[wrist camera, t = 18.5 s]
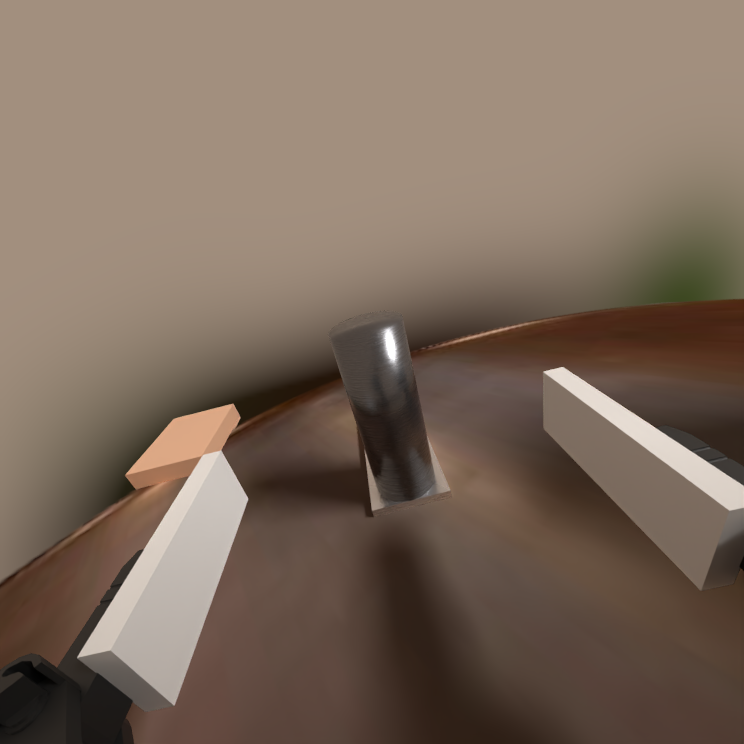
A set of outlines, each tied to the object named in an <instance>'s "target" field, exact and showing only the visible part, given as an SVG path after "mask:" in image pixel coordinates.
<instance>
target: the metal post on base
mask: <svg viewBox="0 0 744 744" xmlns="http://www.w3.org/2000/svg"><path fill="white" fill-rule="evenodd" d="M328 336H329V339H330V342H331V345H332V348H333V351H334V355H335V358H336V360H337V364H338V367H339V370H340V373H341V377H342V380H343V383H344V386H345V389H346V392H347V395H348V399H349V402H350V405H351V408H352V411H353V414H354V417H355V421H356V424H357V427H358V430H359V433H360V436H361V439H362V443H363V446H364V449H365V457H366V466H367V474H368V482H369V491H370V499H371V507H372V512H373V515H374V517H377V516H381V515H385V514H389V513H392V512H396V511H400V510H404V509H408V508H412V507H416V506H420V505H424V504H428V503H431V502H435V501H439V500H443V499H447V498H451V497H452V496H451V490H450V488H449V486H448V483H447V481H446V479H445V476H444V474H443V472H442V469H441V467H440V465H439V462H438V460H437V458H436V455H435V453H434V451H433V448H432V446H431V444H430V441H429V439H428V437H427V434H426V429H425V424H424V419H423V414H422V409H421V404H420V400H419V395H418V390H417V385H416V380H415V375H414V370H413V366H412V361H411V356H410V351H409V346H408V341H407V336H406V332H405V327H404V322H403V317H402V314H401V313H398V312H395V311H379V312H372V313H367V314H363V315H359V316H356V317H353V318H350V319H348V320H345V321H343V322H341V323H339V324H337V325H336V326H334V327H333V328H332V329H331V330H330V331H329V333H328Z"/></svg>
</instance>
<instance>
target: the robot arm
mask: <svg viewBox="0 0 744 744" xmlns="http://www.w3.org/2000/svg"><path fill="white" fill-rule="evenodd" d="M543 429H544V430H545V431H546V432H547V433H548V434H549V435H550V436H551V437H552V438H553V439H554V440H555V441H556V442H557V443H558V444H559V445H560V446H561V447H562V448H563V449H564V450H565V451H566V452H567V453H568V454H569V455H570V456H571V457H572V459H573V460H574V461H575V462H576V463H577V464H578V465H579V466H580V467H581V468H582V469H583V470H584V471H585V472H586V473H587V474H588V475H589V476H590V477H591V478H592V479H593V480H594V481H595V482H596V483H597V484H598V485H599V486H600V487H601V488H602V489H603V491H604V492H605V493H606V494H607V495H608V496H609V497H610V498H611V499H612V500H613V501H614V502H615V503H616V504H617V505H618V506H619V507H620V508H621V509H622V510H623V511H624V512H625V513H626V514H627V515H628V516H629V517H630V518H631V519H632V520H633V521H634V523H635V524H636V525H637V526H638V527H639V528H640V529H641V530H642V531H643V532H644V533H645V534H646V535H647V536H648V537H649V538H650V539H651V540H652V541H653V542H654V543H655V544H656V545H657V546H658V547H659V548H660V549H661V550H662V551H663V552H664V553H665V555H666V556H667V557H668V558H669V559H670V560H671V561H672V562H673V563H674V564H675V565H676V566H677V567H678V568H679V569H680V570H681V571H682V572H683V573H684V574H685V575H686V576H687V577H688V578H689V579H690V580H691V581H692V582H693V583H694V584H695V585H696V587H697V588H698V589H699V590H700V591H704V590H709V589H713V588H718V587H722V586H727V585H731V584H734V582H735V580H736V577H737V575H738V572H739V570H740V568H741V569H743V570H744V466H742V465H741V464H739V463H737V462H736V461H734V460H732V459H728V458H727V456H726V455H724V454H722V453H721V452H719V451H718V450H716V449H714V448H712V449H711V448H710V446H709V445H708V444H706V443H704V442H703V441H701V440H699V439H698V438H696V437H695V436H693V435H691V434H689V433H687V432H684V431H681V430H678V429H676V428H673V427H670V426H667V425H664V426H660V427H656V428H655V427H653V426H652V425H650V424H649V423H647V422H646V421H644V420H643V419H641V418H640V417H638V416H637V415H635V414H633V413H632V412H630V411H629V410H627V409H626V408H624V407H623V406H621V405H620V404H618V403H617V402H615V401H614V400H612V399H611V398H609V397H608V396H606V395H605V394H603V393H601V392H600V391H598V390H597V389H595V388H594V387H592V386H591V385H589V384H588V383H586V382H585V381H583V380H582V379H580V378H579V377H577V376H576V375H574V374H573V373H571V372H569V371H568V370H566V369H565V368H563V367H561V368H557V369H553V370H548V371H544V372H543ZM247 501H248V497H247V496H246V494H245V492H244V490H243V488H242V487H241V485H240V483H239V481H238V480H237V478H236V476H235V474H234V473H233V471H232V469H231V467H230V465H229V464H228V462H227V460H226V458H225V457H224V455H223V453H222V451H217V452H213V453H209V454H205V455H203V456H202V457H201V459H200V461H199V462H198V464H197V465H196V467H195V469H194V470H193V472H192V473H191V475H190V477H189V478H188V480H187V481H186V483H185V485H184V486H183V488H182V490H181V491H180V493H179V494H178V496H177V498H176V499H175V501H174V502H173V504H172V506H171V507H170V509H169V510H168V512H167V514H166V515H165V517H164V518H163V520H162V522H161V523H160V525H159V526H158V528H157V530H156V531H155V533H154V535H153V536H152V538H151V539H150V541H149V543H148V544H147V546H146V547H145V549H142V550H139V551H138V552H137V553H136V554H135V555H134V556H133V557H132V558H131V559H130V560H129V561H128V562H127V563H126V564H125V565H124V566H123V568H122V569H121V571H120V572H119V574H118V575H117V577H116V578H115V580H114V581H113V583H112V584H111V586H110V587H111V588H110V590H107V592H106V594H105V595H104V597H103V598H102V600H101V601H100V605H99V606H97V607H96V609H95V610H94V612H93V613H92V615H91V617H90V618H89V620H88V621H87V623H86V624H85V626H84V627H83V629H82V630H81V632H80V633H79V635H78V636H77V638H76V639H75V641H74V643H73V644H72V646H71V647H70V649H69V650H68V652H67V653H66V655H65V656H64V658H63V659H62V661H61V662H60V664H59V666H58V667H57V668H56V667H55V666H54V665H52V664H51V663H49V662H48V661H47V660H45V659H44V658H43V657H41V656H40V655H37V654H32V653H31V654H28V655H25V656H22V657H19V658H18V659H16V660H14V661H13V662H11V663H9V664H8V665H6V666H5V667H3V668H2V669H1V670H0V744H134V742H133V735H132V729H131V726H130V724H129V722H128V720H127V719H126V718H125V717H126V715H127V713H128V711H129V708H130V706H131V704H132V702H133V703H135V704H136V705H137V706H138V707H140V708H141V709H142V710H143V711H145V712H148V711H153V710H158V709H162V708H167V707H171V706H175V703H176V700H177V697H178V695H179V692H180V689H181V686H182V683H183V681H184V678H185V675H186V672H187V669H188V666H189V664H190V661H191V658H192V655H193V652H194V650H195V647H196V644H197V641H198V638H199V636H200V633H201V630H202V627H203V624H204V622H205V619H206V616H207V613H208V610H209V608H210V605H211V602H212V599H213V596H214V594H215V591H216V588H217V585H218V582H219V580H220V577H221V574H222V571H223V568H224V566H225V563H226V560H227V557H228V554H229V552H230V549H231V546H232V543H233V540H234V538H235V535H236V532H237V529H238V526H239V524H240V521H241V518H242V515H243V512H244V510H245V507H246V504H247Z"/></svg>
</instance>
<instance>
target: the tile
mask: <svg viewBox="0 0 744 744" xmlns="http://www.w3.org/2000/svg"><path fill="white" fill-rule="evenodd" d="M239 420H240V416H239V414H238V412H237V410H236V408H235V406H234V404H230V405H226V406H223V407H218V408H215V409H211V410H207V411H203V412H199V413H195V414H191V415H187V416H183V417H179V418H176V419H174V420H173V421H172V422H171V423H170V424H169V425H168V426H167V428H166V429H165V430H164V431H163V432H162V433H161V435H160V436H159V437H158V438H157V439H156V440H155V441H154V442H153V444H152V445H151V446H150V447H149V448H148V449H147V451H146V452H145V453H144V454H143V455H142V456H141V458H140V459H139V460H138V461H137V462H136V463H135V464H134V466H133V467H132V468H131V469H130V470H129V471H128V472H127V474H126V475H125V476H126V477H127V479H128V480H129V481H130V483H131V484H132V485H133V486H134V488H135V489H139V488H143V487H146V486H150V485H154V484H158V483H162V482H166V481H170V480H174V479H178V478H182V477H186V476H190V475H191V473H192V472H193V470H194V469H195V467H196V465H197V464H198V462H199V461H200V459H201V457H202V456H203V455H205V454H209V453H213V452H217V451H221V449H222V448H223V446H224V444H225V442H226V440H227V438H228V436H229V435H230V433H231V431H232V430H233V429H234V428H236V426H237V424H238V422H239Z"/></svg>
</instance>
